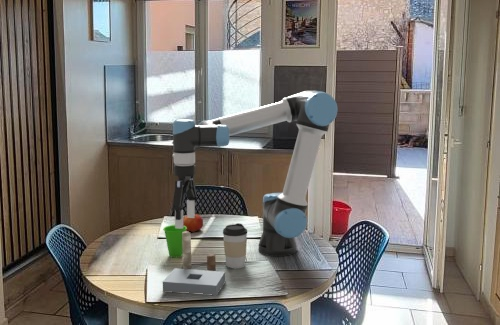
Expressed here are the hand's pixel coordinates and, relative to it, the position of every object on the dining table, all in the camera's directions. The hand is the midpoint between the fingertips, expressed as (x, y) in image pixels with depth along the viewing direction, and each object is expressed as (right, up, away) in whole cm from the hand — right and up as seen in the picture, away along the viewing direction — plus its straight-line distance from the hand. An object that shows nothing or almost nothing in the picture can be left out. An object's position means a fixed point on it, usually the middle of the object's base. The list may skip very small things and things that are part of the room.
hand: (185, 222), depth 193 cm
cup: (-6, -15, +18) cm, 24 cm away
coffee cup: (+18, -17, +8) cm, 25 cm away
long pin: (0, -17, +3) cm, 18 cm away
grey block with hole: (+5, -20, -12) cm, 24 cm away
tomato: (-3, -9, +50) cm, 51 cm away
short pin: (+9, -18, +1) cm, 20 cm away
